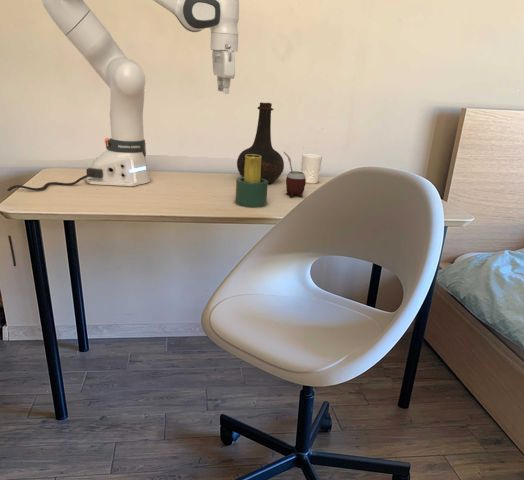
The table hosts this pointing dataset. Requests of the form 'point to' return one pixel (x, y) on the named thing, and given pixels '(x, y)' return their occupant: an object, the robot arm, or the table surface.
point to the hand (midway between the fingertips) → (223, 92)
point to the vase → (252, 168)
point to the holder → (251, 193)
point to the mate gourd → (295, 182)
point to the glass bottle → (264, 148)
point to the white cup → (311, 167)
